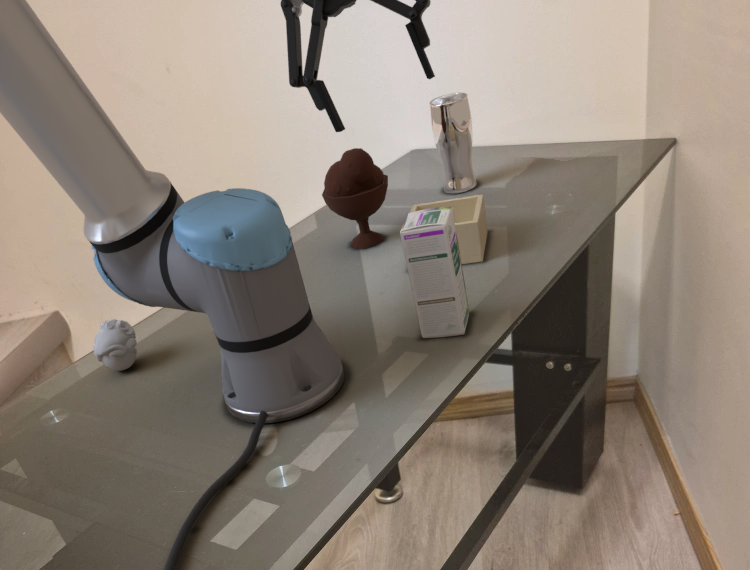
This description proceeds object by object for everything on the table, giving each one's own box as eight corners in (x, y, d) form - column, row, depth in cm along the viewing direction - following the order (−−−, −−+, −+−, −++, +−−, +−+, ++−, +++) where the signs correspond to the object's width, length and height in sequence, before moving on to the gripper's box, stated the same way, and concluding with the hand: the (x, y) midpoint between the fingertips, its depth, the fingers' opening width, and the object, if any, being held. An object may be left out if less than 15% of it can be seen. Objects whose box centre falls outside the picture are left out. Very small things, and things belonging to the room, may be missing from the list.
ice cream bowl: (400, 224, 128) (382, 132, 119) (395, 249, 120) (376, 153, 110) (341, 234, 130) (319, 145, 121) (332, 260, 122) (308, 166, 112)
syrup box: (465, 335, 93) (448, 222, 84) (420, 339, 95) (398, 229, 86) (470, 313, 98) (454, 204, 88) (426, 318, 99) (406, 211, 90)
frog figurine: (155, 354, 109) (136, 311, 104) (129, 380, 104) (107, 336, 100) (123, 354, 111) (102, 312, 107) (96, 380, 106) (73, 337, 102)
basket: (482, 261, 109) (477, 221, 105) (409, 271, 112) (402, 232, 108) (487, 232, 117) (483, 193, 113) (419, 241, 120) (412, 204, 116)
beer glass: (434, 190, 138) (421, 102, 128) (466, 177, 139) (455, 90, 130) (453, 197, 132) (440, 107, 123) (486, 184, 134) (476, 94, 124)
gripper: (403, -126, 89) (474, 55, 96) (237, -8, 98) (312, 150, 105) (393, -145, 83) (469, 51, 90) (216, -17, 92) (297, 152, 99)
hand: (384, 105), depth 97 cm, fingers open, 13 cm apart
